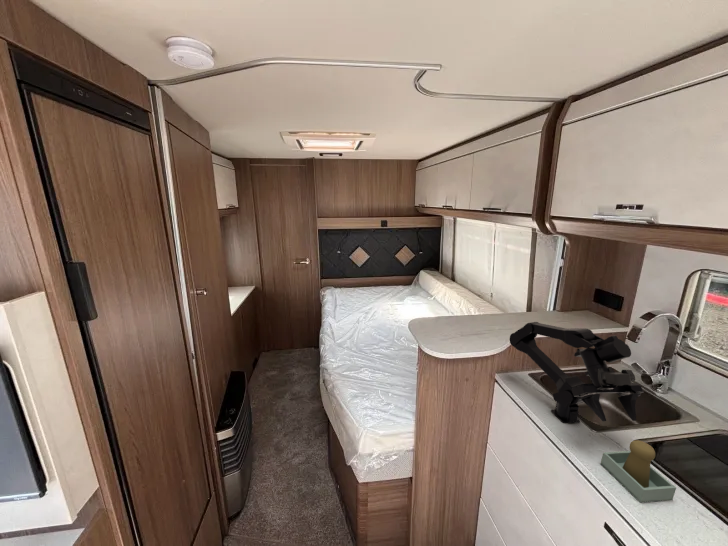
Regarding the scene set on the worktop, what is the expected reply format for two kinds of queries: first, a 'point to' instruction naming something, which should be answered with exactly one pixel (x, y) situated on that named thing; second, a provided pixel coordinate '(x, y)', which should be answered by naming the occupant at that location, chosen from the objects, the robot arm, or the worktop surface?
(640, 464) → the cork
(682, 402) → the worktop surface
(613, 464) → the tray
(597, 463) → the worktop surface
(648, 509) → the worktop surface
